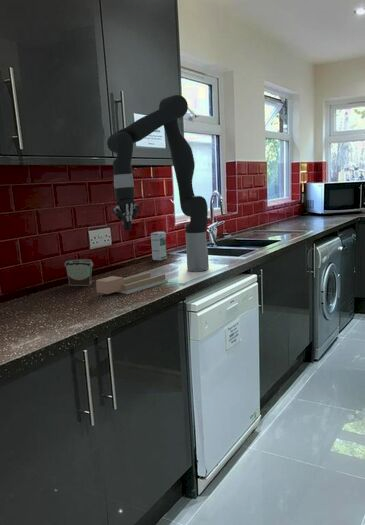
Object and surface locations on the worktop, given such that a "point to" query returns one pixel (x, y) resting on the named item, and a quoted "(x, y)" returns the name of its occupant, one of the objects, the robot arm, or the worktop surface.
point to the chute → (141, 282)
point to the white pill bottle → (159, 245)
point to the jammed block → (109, 284)
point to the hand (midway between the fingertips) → (128, 230)
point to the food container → (79, 272)
